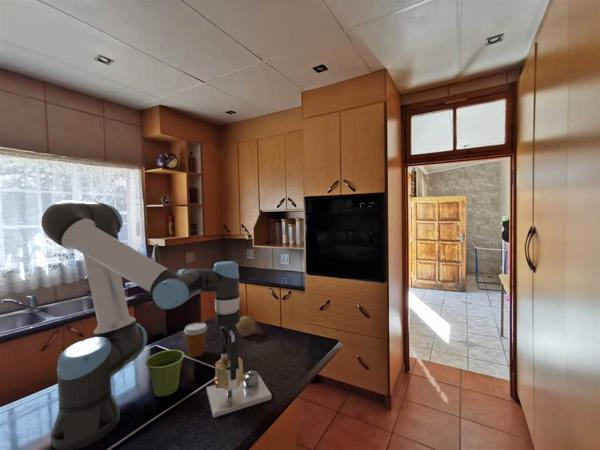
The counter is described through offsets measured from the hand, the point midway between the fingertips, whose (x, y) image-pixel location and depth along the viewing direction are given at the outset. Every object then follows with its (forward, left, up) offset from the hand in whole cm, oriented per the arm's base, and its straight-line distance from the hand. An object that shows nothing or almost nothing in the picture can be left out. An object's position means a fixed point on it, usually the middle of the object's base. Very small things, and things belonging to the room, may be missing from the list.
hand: (229, 380), depth 89 cm
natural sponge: (+18, +46, -6) cm, 50 cm away
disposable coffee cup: (-6, +38, -6) cm, 39 cm away
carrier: (+3, +1, -6) cm, 7 cm away
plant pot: (-18, +15, -6) cm, 24 cm away
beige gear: (0, 0, 0) cm, 0 cm away
